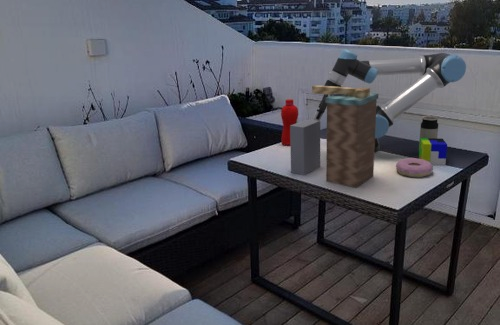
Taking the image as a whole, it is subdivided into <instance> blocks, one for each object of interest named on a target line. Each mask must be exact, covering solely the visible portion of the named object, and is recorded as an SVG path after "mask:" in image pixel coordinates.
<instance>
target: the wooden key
mask: <svg viewBox="0 0 500 325" xmlns="http://www.w3.org/2000/svg"><path fill="white" fill-rule="evenodd" d="M311 93H312V94H317V95H324V94H327V95H333V93H342V94H347V96H352V97H355V98H364V97H367V96H370V93H371V88H370V87H346V86H345V87H344V86H343V87H342V86H341V87H334V86H324V85H317V84H315V85H313V86H311Z"/></svg>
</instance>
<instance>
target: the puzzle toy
mask: <svg viewBox="0 0 500 325" xmlns="http://www.w3.org/2000/svg"><path fill="white" fill-rule="evenodd" d="M419 141H420V147H419V146H418V159H423V160H426V161H428V162H430V163H431V165H432V166H446V162H447V151H448V143H447V142H446V141H445V139H444V138H438V137H437V138H420V137H419Z"/></svg>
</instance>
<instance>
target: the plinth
mask: <svg viewBox="0 0 500 325" xmlns="http://www.w3.org/2000/svg"><path fill="white" fill-rule="evenodd" d="M320 167H321V120H320V121H317V120H312V119H309V118H307V119H304V120H302V121H299V122H297V123H296V124H293V125H290V173H292V174H295V175H296V174H297V175H300V176H305V175H307V174H310V173H311V172H313V171H315V170H316V169H318V168H320Z"/></svg>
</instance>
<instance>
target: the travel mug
mask: <svg viewBox="0 0 500 325" xmlns="http://www.w3.org/2000/svg"><path fill="white" fill-rule="evenodd" d="M421 119H422V121H421V123H420V128H419V129H420V130H419V139H420V138H438V136H439V135H438V132H439V123H438V120H439V117H437V116H433V115H424V116H421ZM418 144H419V145H418V148H419V147H420V140H419V143H418Z"/></svg>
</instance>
